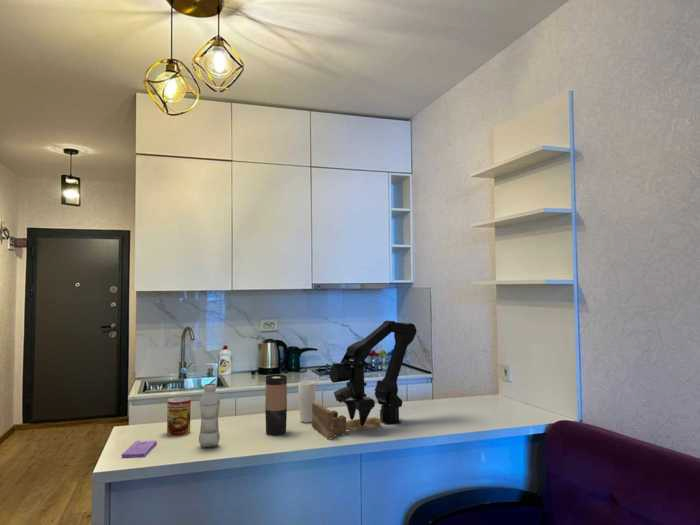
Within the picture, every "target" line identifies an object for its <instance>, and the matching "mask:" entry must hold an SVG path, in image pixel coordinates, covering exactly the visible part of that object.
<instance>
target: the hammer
mask: <svg viewBox="0 0 700 525" xmlns="http://www.w3.org/2000/svg"><path fill="white" fill-rule="evenodd" d="M333 418H334V417H333ZM381 424H382V422H381V419H380V417H378V416H375V417H367V419H366V421H365V424H364V425H363V426H361V425H360V418H358V419H352V420H351V419H350V420H349V419H348V420H346V430H352V431H355V430H354V429H360V430H365V429H364V428H368V429H373V427H376V428H381V426H382V425H381Z"/></svg>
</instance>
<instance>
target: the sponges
mask: <svg viewBox="0 0 700 525" xmlns="http://www.w3.org/2000/svg"><path fill="white" fill-rule="evenodd" d="M157 445H158V442H157V440H144V441H141V440H139V441H134V442H133V443H132V445H129V447H127V449H126V450H125V451H124V452H122V453H121V458H122V459H131V458H132V459H133V458H146V457H147V456H148V455H149V454H150V452H152V450H153V449H155V447H156V446H157Z"/></svg>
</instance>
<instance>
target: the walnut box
mask: <svg viewBox="0 0 700 525" xmlns="http://www.w3.org/2000/svg"><path fill="white" fill-rule="evenodd" d="M333 417H334V418H333ZM346 421H347V417H346V416H345V415H344V414H343V415H339V412H338V411H337V410H334V409H333V410H331V409H330V408H329V409H328V408H327V407H325V406H324V405H322V404H320V403H319V402H315V403H312V422H311V424H312V425H311V426H312V427H313V428H314V429H313V428H312V427H311V428H312V429H313V430H314V431H316V430H317V431H318V432H317V431H316V432H317V433H319V434H320V433H321V434H322V435H323V437H324V436H325V437H326V438H327V439H326V438H325V437H324V438H325V439H326V440H331V439H330V438H333V439H334V437H336V436H335V435H340V436H343V435H342V434H346V435H347V431H346ZM321 434H320V435H321ZM322 435H321V436H322Z"/></svg>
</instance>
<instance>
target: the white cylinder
mask: <svg viewBox="0 0 700 525" xmlns="http://www.w3.org/2000/svg"><path fill="white" fill-rule="evenodd" d="M316 383H317V382H316V381H314V380H302V381H299V382H298V390H297V391H298V392H297V393H298V404H299V405H298V406H299V421H300V422H301V423H303V422H304V424H309V423H308V422H310V423H312V403H316V392H317V390H316V389H317V387H316V386H317V385H316Z"/></svg>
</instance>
